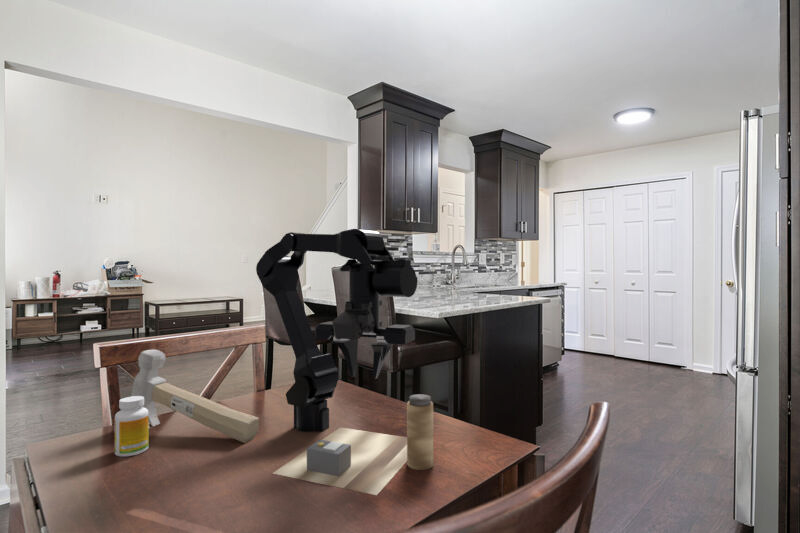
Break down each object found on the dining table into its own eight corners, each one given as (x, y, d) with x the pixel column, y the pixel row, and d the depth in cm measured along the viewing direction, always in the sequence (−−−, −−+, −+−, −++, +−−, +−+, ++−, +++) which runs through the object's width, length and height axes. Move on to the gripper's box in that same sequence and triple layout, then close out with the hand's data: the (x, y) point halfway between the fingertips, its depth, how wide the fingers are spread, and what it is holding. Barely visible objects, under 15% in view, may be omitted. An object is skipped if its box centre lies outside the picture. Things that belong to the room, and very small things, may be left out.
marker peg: (403, 472, 73) (403, 399, 73) (412, 461, 77) (412, 392, 77) (428, 476, 71) (428, 402, 71) (436, 465, 75) (436, 395, 75)
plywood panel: (272, 478, 71) (272, 473, 71) (340, 431, 91) (340, 427, 91) (376, 500, 64) (376, 495, 64) (425, 444, 84) (425, 440, 84)
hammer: (267, 390, 87) (155, 347, 97) (252, 396, 83) (136, 351, 92) (252, 464, 88) (142, 415, 98) (236, 475, 84) (123, 422, 93)
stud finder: (306, 470, 72) (306, 446, 72) (319, 460, 75) (320, 437, 75) (338, 476, 69) (338, 452, 70) (350, 465, 73) (350, 443, 73)
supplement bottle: (155, 448, 83) (155, 396, 83) (126, 459, 78) (127, 404, 78) (136, 443, 85) (136, 393, 85) (107, 454, 80) (107, 400, 80)
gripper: (298, 296, 80) (298, 383, 79) (393, 299, 73) (393, 393, 73) (330, 293, 90) (330, 370, 90) (415, 295, 83) (416, 378, 83)
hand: (364, 377), depth 83 cm, fingers open, 4 cm apart
